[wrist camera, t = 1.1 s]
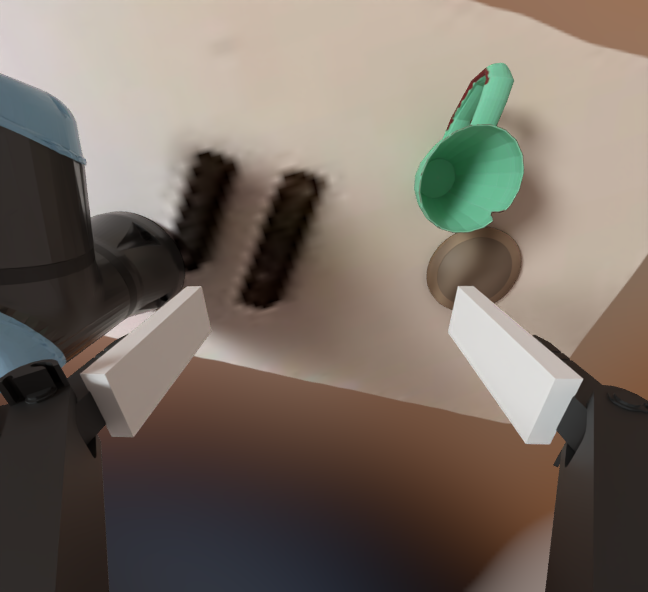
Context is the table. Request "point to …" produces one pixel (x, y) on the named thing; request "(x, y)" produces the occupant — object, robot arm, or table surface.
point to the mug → (472, 159)
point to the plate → (474, 265)
